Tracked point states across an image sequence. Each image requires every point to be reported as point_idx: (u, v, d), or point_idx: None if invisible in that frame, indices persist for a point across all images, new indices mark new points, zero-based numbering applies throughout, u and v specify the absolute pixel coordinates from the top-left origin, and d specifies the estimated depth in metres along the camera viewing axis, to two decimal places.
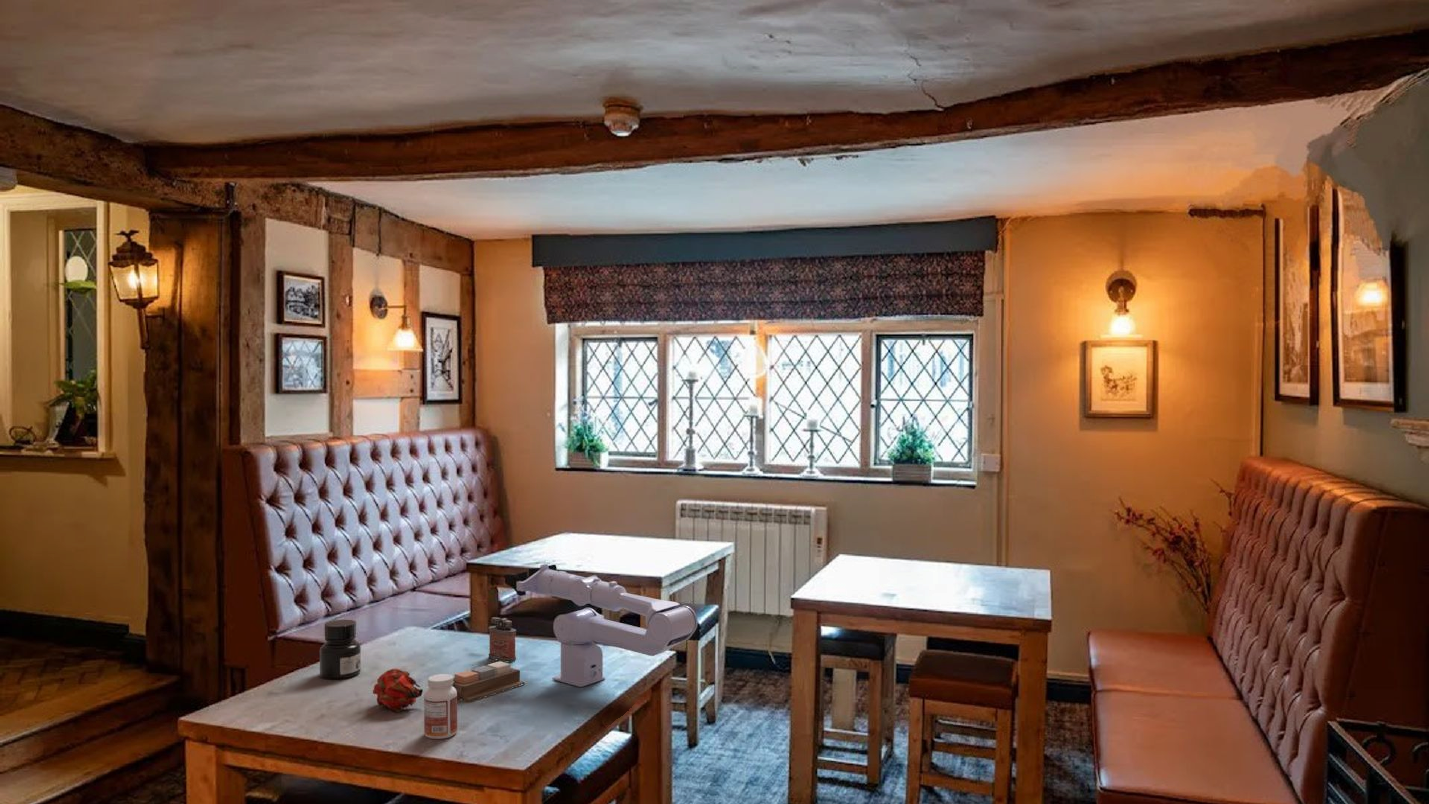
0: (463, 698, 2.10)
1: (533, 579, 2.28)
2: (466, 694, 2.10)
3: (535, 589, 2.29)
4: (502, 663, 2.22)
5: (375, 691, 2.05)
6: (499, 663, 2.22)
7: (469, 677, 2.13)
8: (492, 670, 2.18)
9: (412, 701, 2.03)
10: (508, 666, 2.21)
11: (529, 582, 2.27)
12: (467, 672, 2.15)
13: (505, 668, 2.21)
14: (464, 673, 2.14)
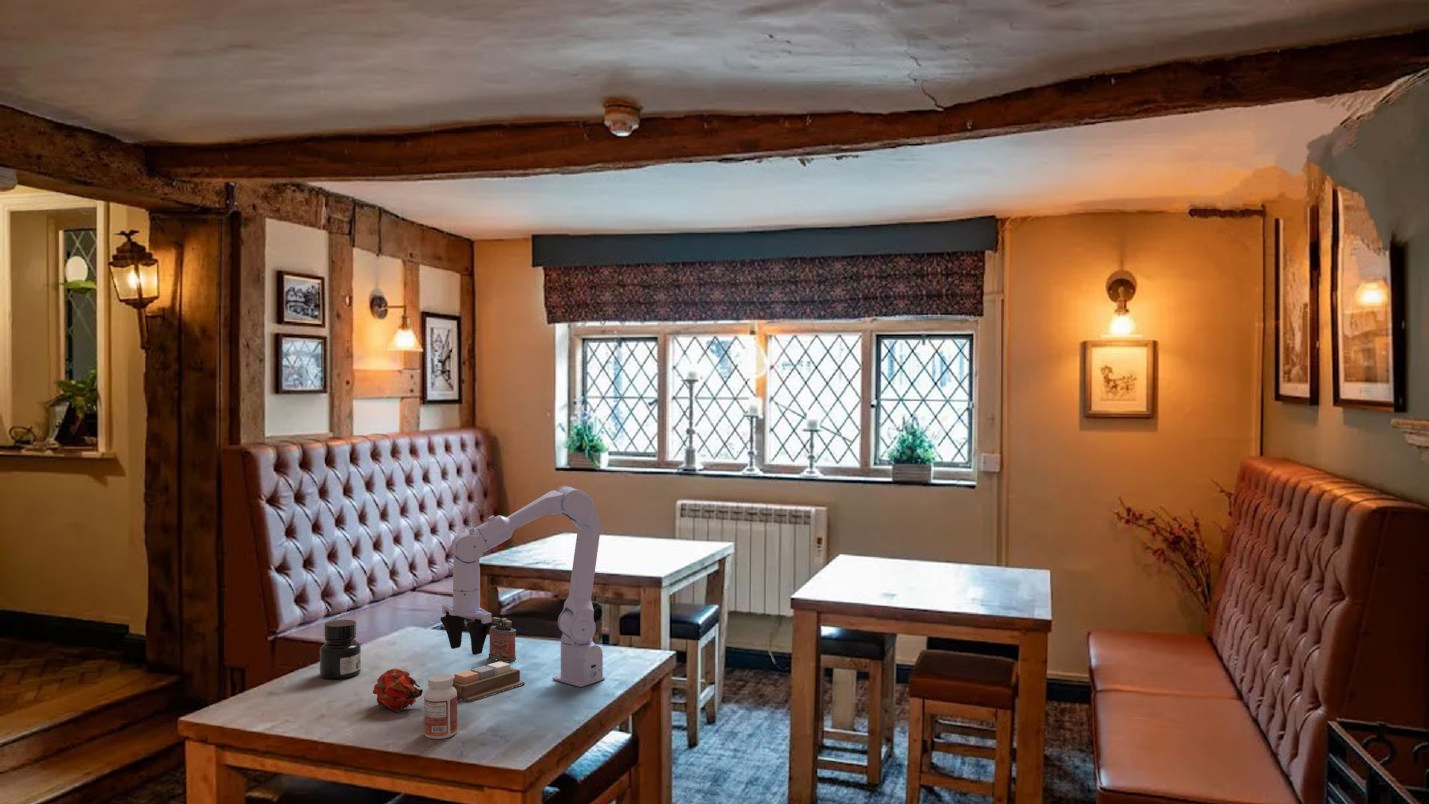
0: (463, 698, 2.10)
1: None
2: (466, 694, 2.10)
3: (479, 611, 2.13)
4: (502, 663, 2.22)
5: (375, 691, 2.05)
6: (499, 663, 2.22)
7: (469, 677, 2.13)
8: (492, 670, 2.18)
9: (412, 701, 2.03)
10: (508, 666, 2.21)
11: (478, 613, 2.11)
12: (467, 672, 2.15)
13: (505, 668, 2.21)
14: (464, 673, 2.14)
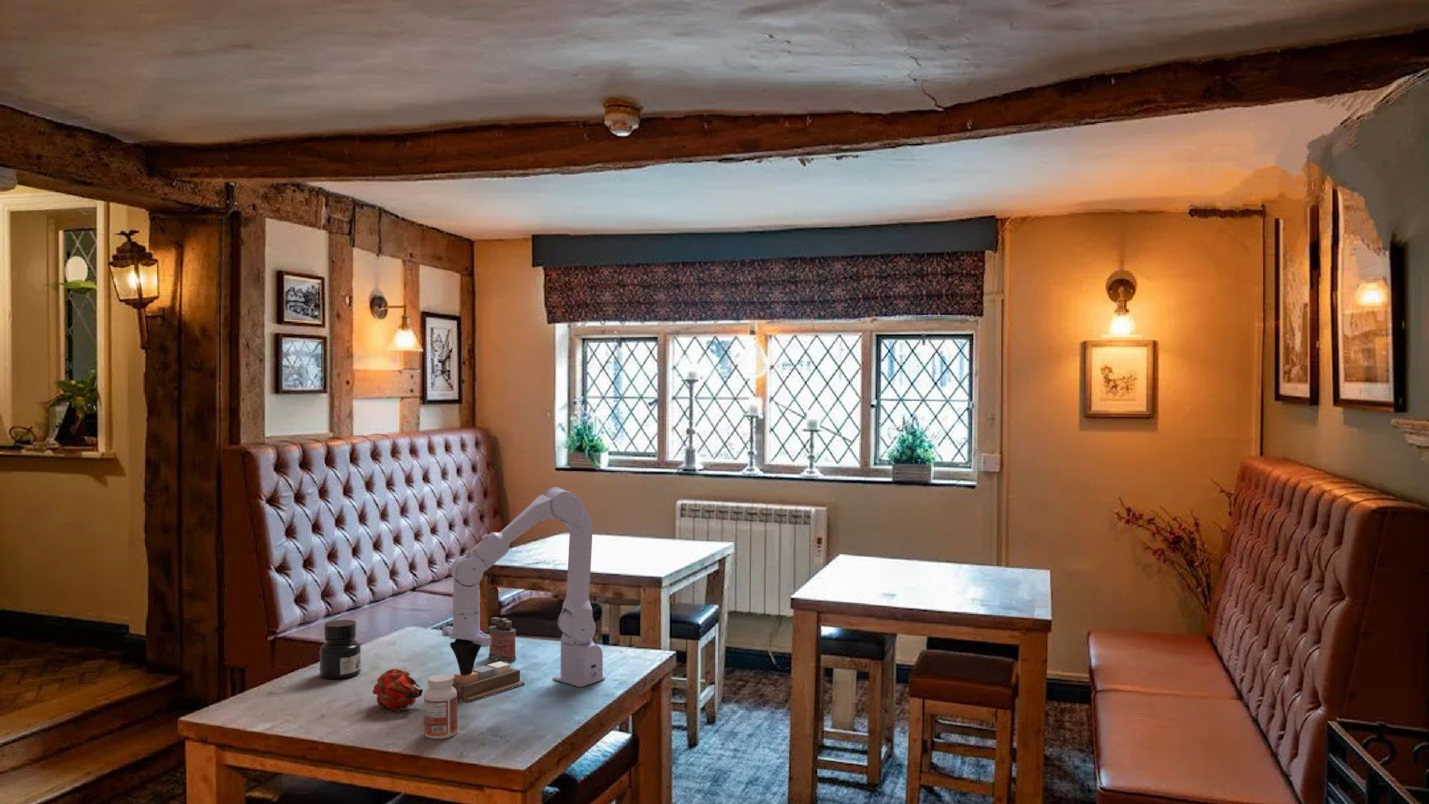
0: (463, 698, 2.10)
1: None
2: (466, 694, 2.10)
3: (479, 634, 2.13)
4: (502, 663, 2.22)
5: (375, 691, 2.05)
6: (499, 663, 2.22)
7: (469, 677, 2.13)
8: (492, 670, 2.18)
9: (412, 701, 2.03)
10: (508, 666, 2.21)
11: None
12: None
13: (505, 668, 2.21)
14: None
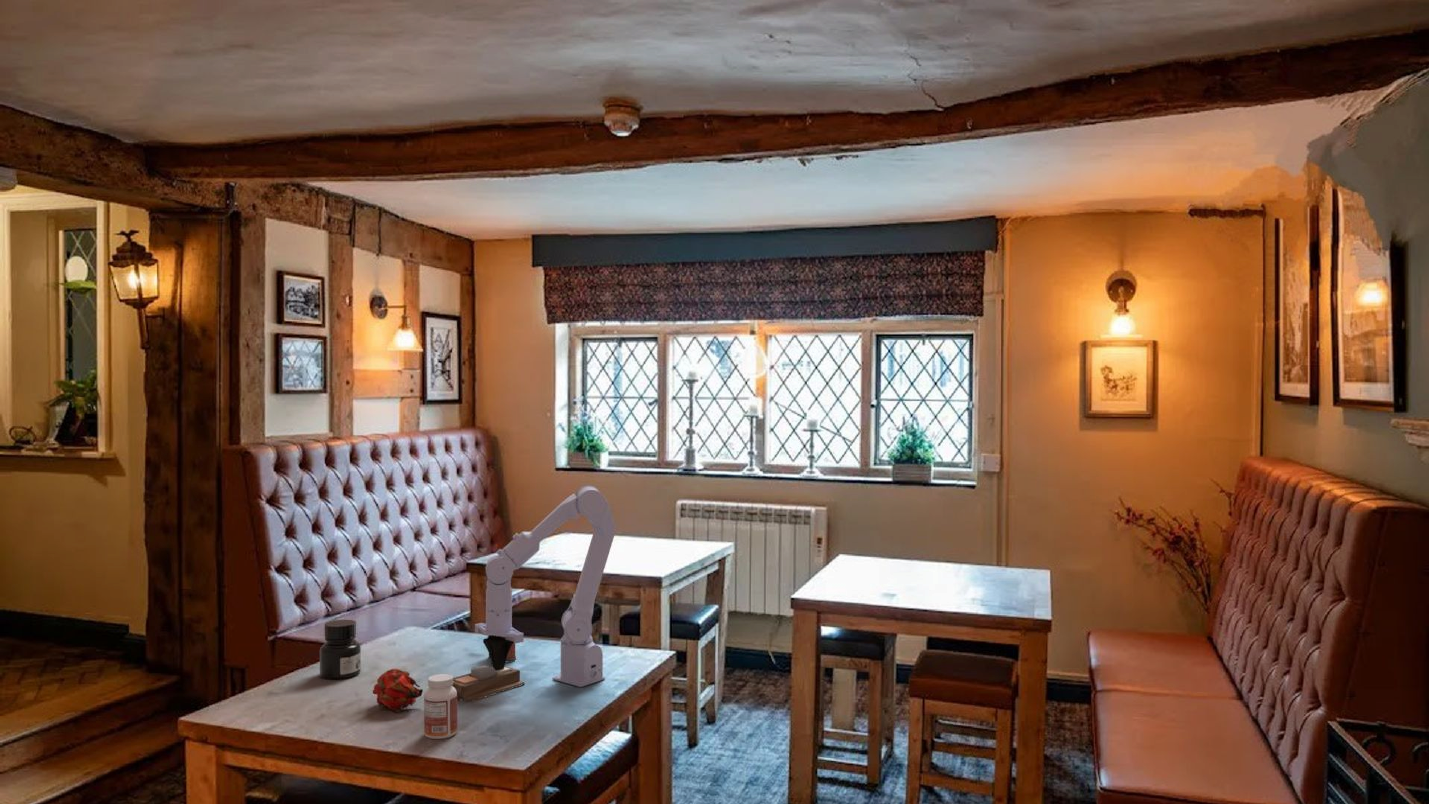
0: (463, 698, 2.10)
1: None
2: (466, 694, 2.10)
3: (511, 630, 2.21)
4: None
5: (375, 691, 2.05)
6: None
7: (469, 682, 2.13)
8: (492, 670, 2.18)
9: (412, 701, 2.03)
10: (508, 671, 2.21)
11: (510, 633, 2.18)
12: (467, 677, 2.15)
13: None
14: (464, 679, 2.14)
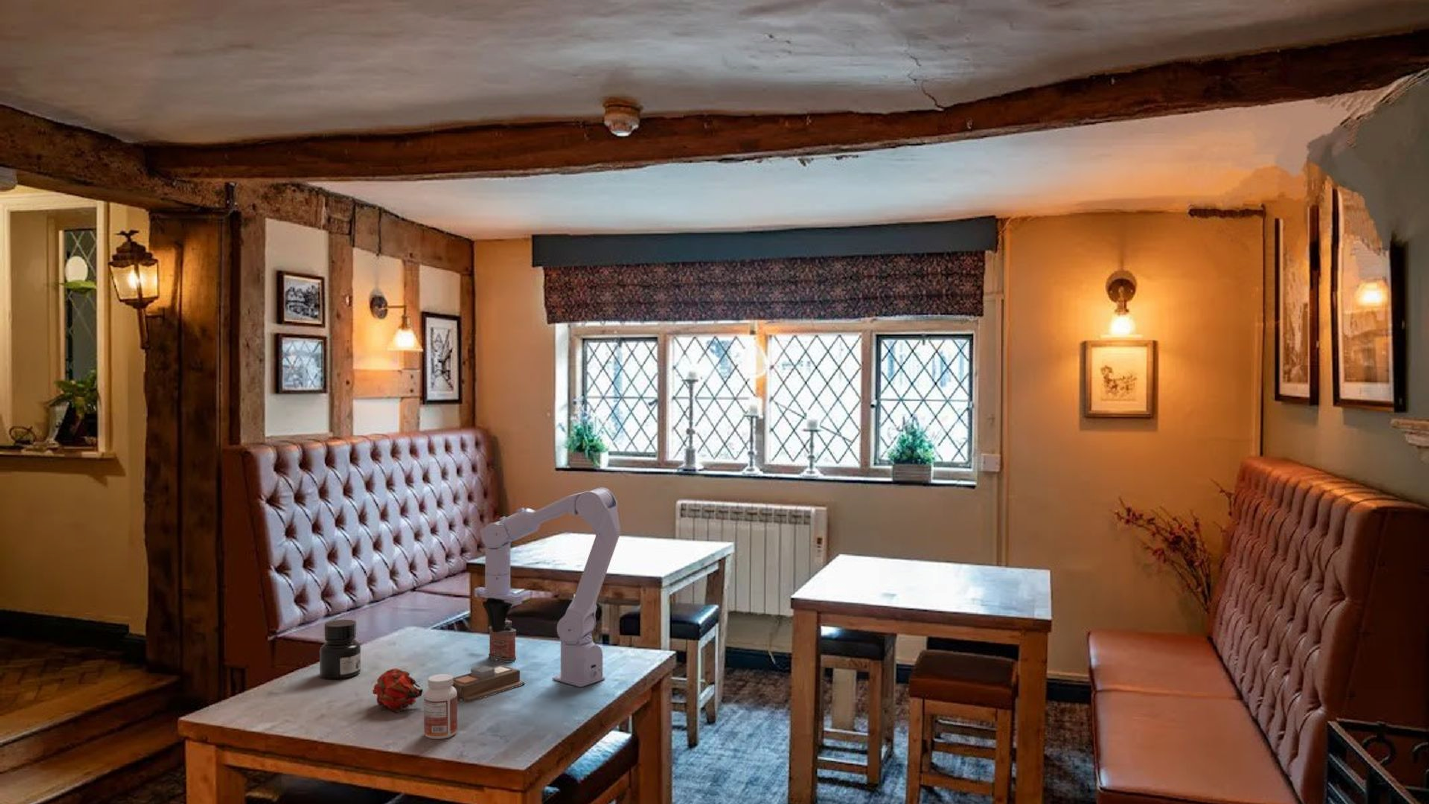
0: (463, 698, 2.10)
1: None
2: (466, 694, 2.10)
3: (510, 593, 2.28)
4: (502, 668, 2.22)
5: (375, 691, 2.05)
6: (499, 668, 2.22)
7: (469, 682, 2.13)
8: (492, 670, 2.18)
9: (412, 701, 2.03)
10: (508, 671, 2.21)
11: None
12: (467, 677, 2.15)
13: None
14: (464, 679, 2.14)
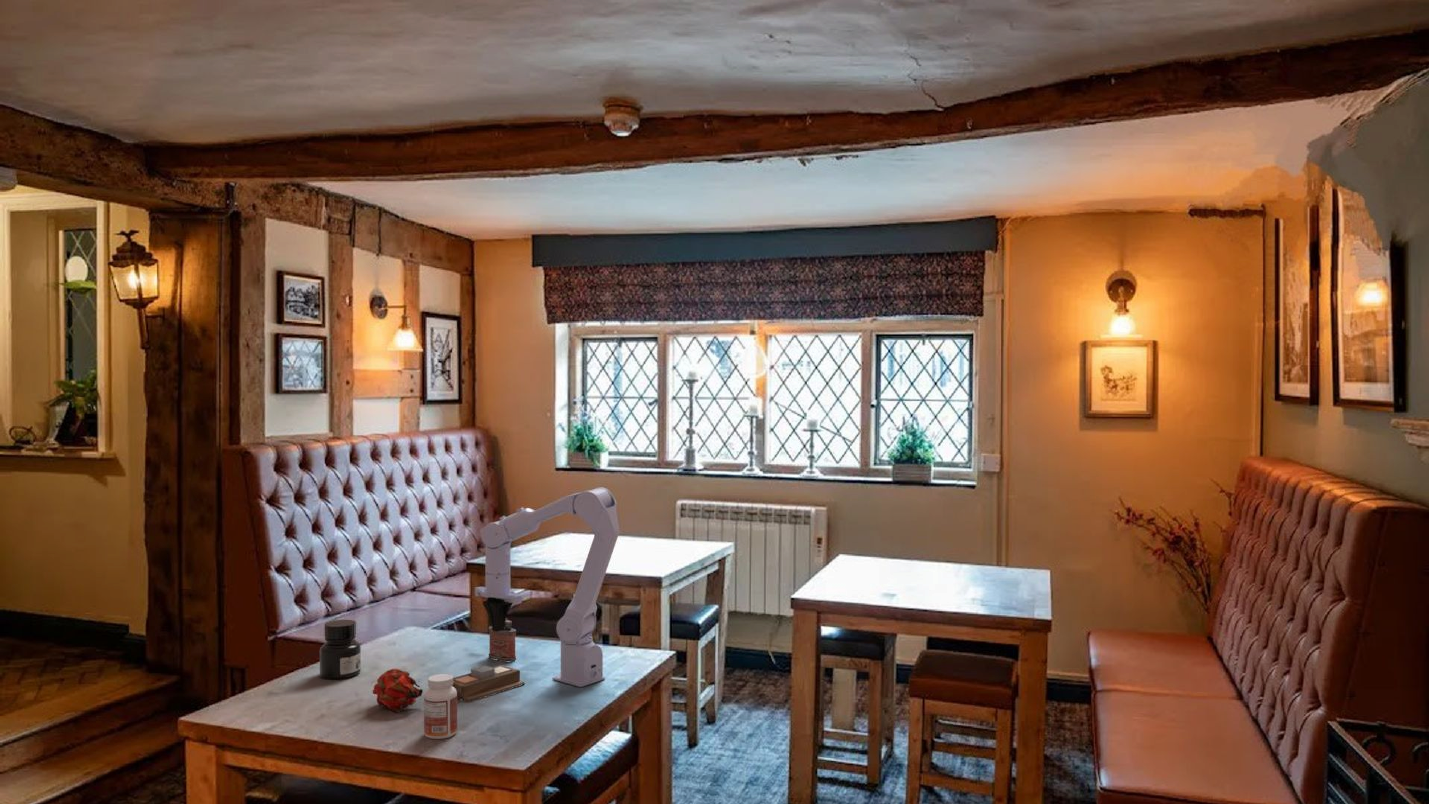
0: (463, 698, 2.10)
1: None
2: (466, 694, 2.10)
3: (510, 593, 2.29)
4: (502, 668, 2.22)
5: (375, 691, 2.05)
6: (499, 668, 2.22)
7: (469, 682, 2.13)
8: (492, 670, 2.18)
9: (412, 701, 2.03)
10: (508, 671, 2.21)
11: None
12: (467, 677, 2.15)
13: None
14: (464, 679, 2.14)
